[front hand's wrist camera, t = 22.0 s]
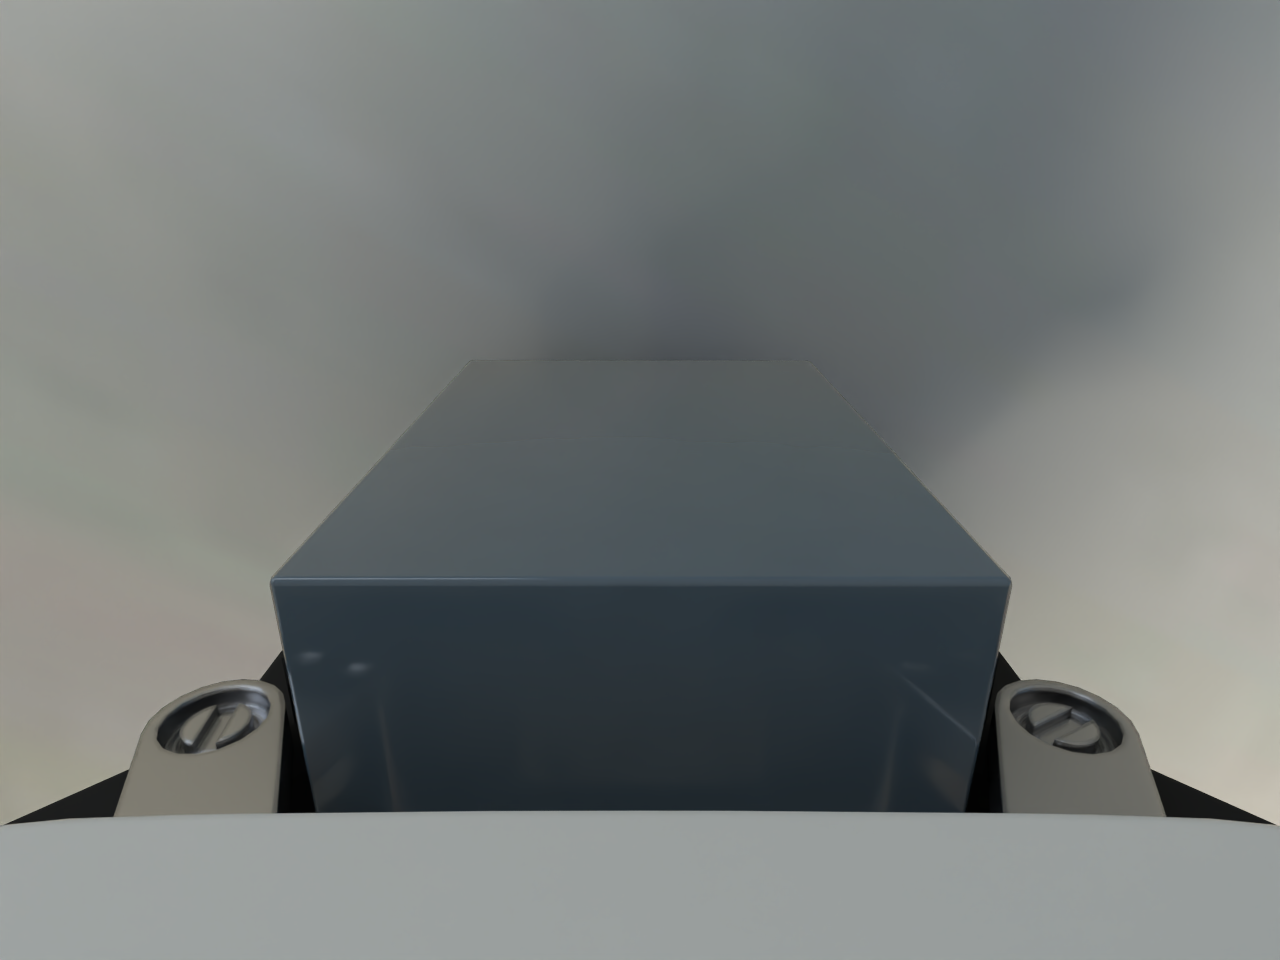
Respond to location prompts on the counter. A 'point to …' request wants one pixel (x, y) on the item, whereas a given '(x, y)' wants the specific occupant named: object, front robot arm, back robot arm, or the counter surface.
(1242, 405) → the counter surface
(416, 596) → the brick
